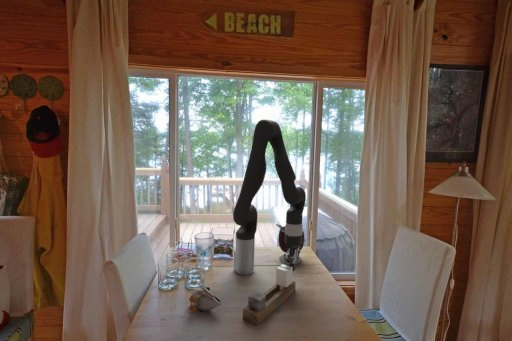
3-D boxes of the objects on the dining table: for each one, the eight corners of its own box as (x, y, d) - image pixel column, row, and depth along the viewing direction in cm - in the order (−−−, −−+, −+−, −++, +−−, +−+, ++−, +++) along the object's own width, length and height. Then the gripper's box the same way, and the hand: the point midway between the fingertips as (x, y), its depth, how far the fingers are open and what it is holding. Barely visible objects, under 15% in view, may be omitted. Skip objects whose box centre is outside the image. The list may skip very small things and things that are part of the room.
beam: (242, 319, 106) (243, 298, 106) (283, 286, 131) (283, 269, 130) (256, 325, 103) (257, 304, 102) (295, 290, 128) (296, 273, 127)
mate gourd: (300, 254, 168) (301, 220, 166) (305, 265, 154) (307, 228, 152) (273, 254, 167) (274, 220, 165) (276, 265, 153) (277, 227, 151)
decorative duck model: (200, 278, 124) (233, 283, 119) (200, 296, 124) (233, 301, 119) (180, 291, 109) (217, 298, 105) (180, 312, 109) (216, 319, 105)
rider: (275, 288, 124) (276, 267, 123) (281, 284, 128) (282, 263, 127) (286, 292, 121) (287, 271, 120) (292, 287, 126) (292, 266, 125)
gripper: (292, 227, 136) (291, 263, 138) (278, 234, 125) (277, 273, 127) (307, 230, 132) (306, 267, 134) (294, 238, 121) (292, 278, 123)
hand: (292, 270), depth 130 cm, fingers closed
